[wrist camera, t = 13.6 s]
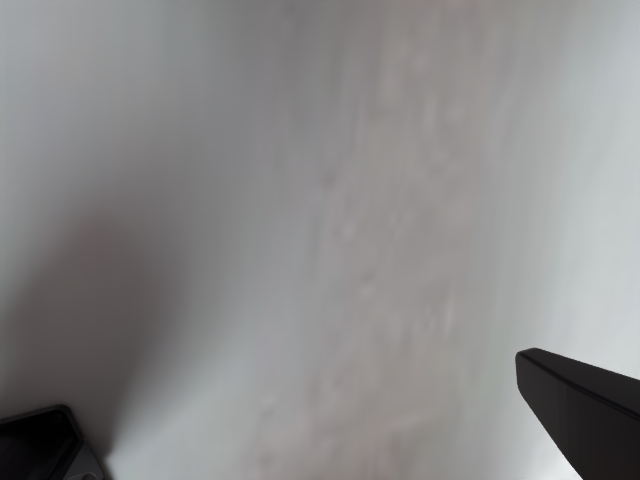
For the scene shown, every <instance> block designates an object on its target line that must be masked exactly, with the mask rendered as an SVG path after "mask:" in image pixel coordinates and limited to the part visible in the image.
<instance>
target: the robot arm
mask: <svg viewBox="0 0 640 480" xmlns="http://www.w3.org/2000/svg"><path fill="white" fill-rule="evenodd" d="M515 362H516V375H517V385H518V389H519V391H520V393H521V395H522V397H523V398H524V399H525V401H526V402H527V404H528V405H529V407H530V408H531V409H532V411H533V412H534V414H535V415H536V417H537V418H538V420H539V421H540V422H541V424H542V425H543V427H544V428H545V430H546V431H547V432H548V434H549V435H550V437H551V438H552V440H553V441H554V442H555V444H556V445H557V447H558V448H559V450H560V451H561V452H562V454H563V455H564V456H565V458H566V459H567V461H568V462H569V463H570V464H571V466H572V467H573V468H574V469H575V471H576V472H577V473H578V474H579V475H580V477H581V478H582V479H583V480H640V380H638V379H635V378H631V377H628V376H625V375H622V374H619V373H615V372H612V371H609V370H606V369H603V368H599V367H596V366H593V365H590V364H587V363H583V362H580V361H577V360H574V359H571V358H567V357H564V356H561V355H558V354H555V353H551V352H548V351H545V350H542V349H539V348H530V349H527V350H523V351H519V352H518V353H517V354H516V356H515ZM56 414H59V415H61V416H62V417H59V416H57V415H56ZM0 480H105V479H104V477H103V473H102V471H101V469H100V467H99V465H98V463H97V461H96V459H95V457H94V455H93V453H92V451H91V449H90V447H89V445H88V443H87V441H86V440H85V438H84V436H83V434H82V432H81V430H80V428H79V426H78V424H77V422H76V420H75V418H74V416H73V414H72V412H71V410H70V409H69V407H67V406H65V405H55V406H51V407H47V408H43V409H40V410H36V411H32V412H29V413H25V414H21V415H17V416H14V417H10V418H6V419H2V420H0Z"/></svg>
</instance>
